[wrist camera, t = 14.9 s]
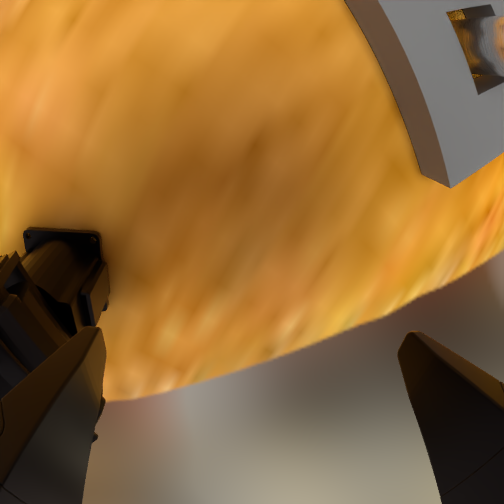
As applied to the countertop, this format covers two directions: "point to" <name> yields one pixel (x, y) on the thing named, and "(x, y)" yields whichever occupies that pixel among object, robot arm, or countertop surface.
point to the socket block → (437, 83)
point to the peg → (482, 43)
